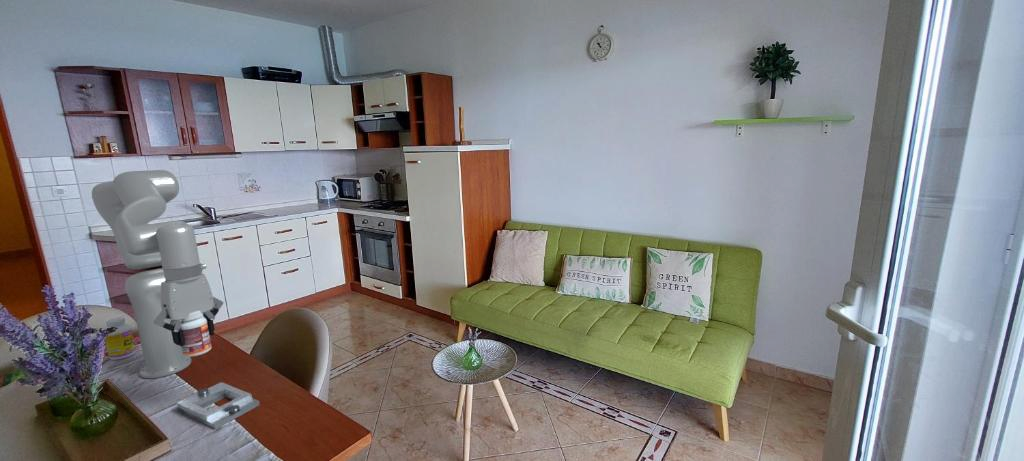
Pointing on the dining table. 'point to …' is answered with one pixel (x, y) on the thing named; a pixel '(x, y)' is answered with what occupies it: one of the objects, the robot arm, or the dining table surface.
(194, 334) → the pill bottle
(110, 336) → the supplement bottle
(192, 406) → the slotted white bracket
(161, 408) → the dining table surface
